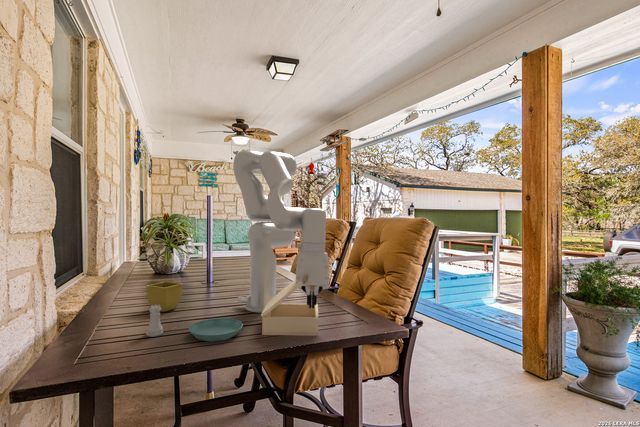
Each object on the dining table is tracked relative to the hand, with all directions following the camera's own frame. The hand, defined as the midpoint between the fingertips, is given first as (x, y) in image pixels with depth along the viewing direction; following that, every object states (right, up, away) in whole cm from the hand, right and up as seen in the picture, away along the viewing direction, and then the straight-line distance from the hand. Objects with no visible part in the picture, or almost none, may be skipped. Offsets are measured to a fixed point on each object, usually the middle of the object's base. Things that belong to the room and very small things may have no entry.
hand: (311, 307), depth 107 cm
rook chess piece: (-44, -5, -10) cm, 45 cm away
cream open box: (-6, -6, 0) cm, 8 cm away
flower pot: (-52, -5, +15) cm, 55 cm away
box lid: (-8, +4, 0) cm, 9 cm away
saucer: (-27, -6, -9) cm, 29 cm away
